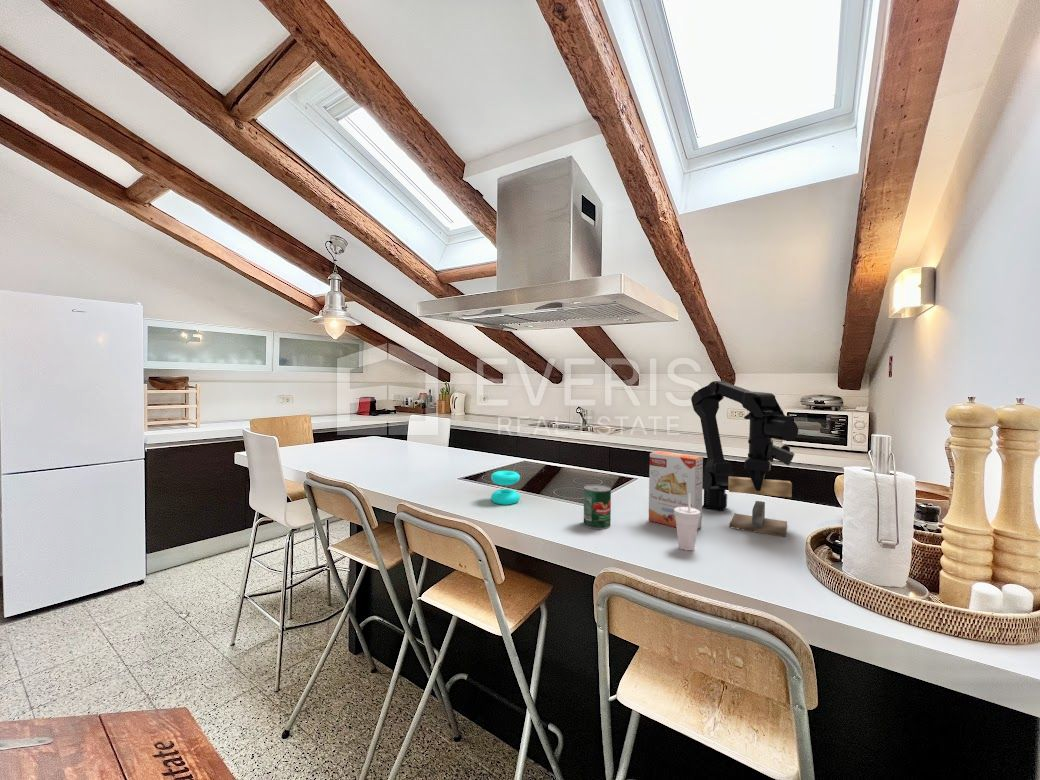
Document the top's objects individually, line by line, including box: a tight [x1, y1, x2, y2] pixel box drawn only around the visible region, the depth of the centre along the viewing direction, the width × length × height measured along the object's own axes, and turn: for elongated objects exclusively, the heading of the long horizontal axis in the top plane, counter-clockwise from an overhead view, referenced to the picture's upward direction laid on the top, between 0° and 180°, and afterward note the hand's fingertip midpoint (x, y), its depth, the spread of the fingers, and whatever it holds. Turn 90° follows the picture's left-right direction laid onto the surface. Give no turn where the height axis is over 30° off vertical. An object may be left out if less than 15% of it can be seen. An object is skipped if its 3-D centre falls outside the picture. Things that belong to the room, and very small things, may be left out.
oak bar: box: [728, 476, 793, 498], centre depth 130 cm, size 16×3×4 cm, turn 70°
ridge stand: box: [728, 500, 788, 538], centre depth 130 cm, size 14×12×6 cm
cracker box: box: [648, 450, 704, 530], centre depth 131 cm, size 14×6×21 cm, turn 47°
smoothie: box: [674, 493, 701, 551], centre depth 113 cm, size 6×6×14 cm
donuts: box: [490, 470, 521, 506], centre depth 154 cm, size 10×10×10 cm
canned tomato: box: [583, 484, 612, 530], centre depth 130 cm, size 8×8×11 cm
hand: (758, 489), depth 130 cm, fingers closed on oak bar, 3 cm apart
